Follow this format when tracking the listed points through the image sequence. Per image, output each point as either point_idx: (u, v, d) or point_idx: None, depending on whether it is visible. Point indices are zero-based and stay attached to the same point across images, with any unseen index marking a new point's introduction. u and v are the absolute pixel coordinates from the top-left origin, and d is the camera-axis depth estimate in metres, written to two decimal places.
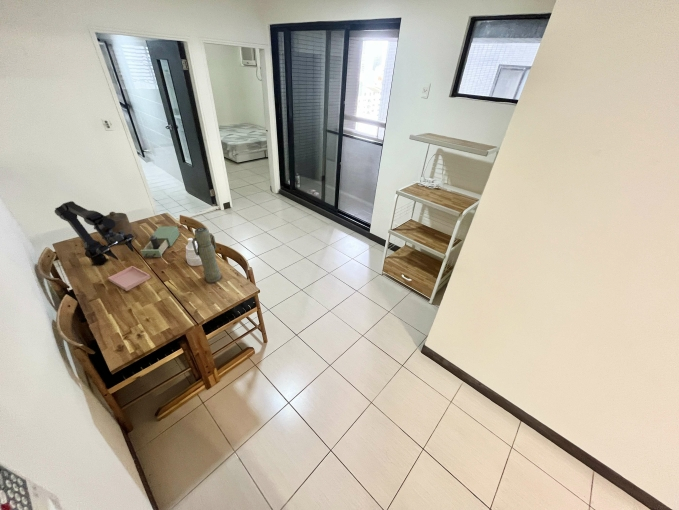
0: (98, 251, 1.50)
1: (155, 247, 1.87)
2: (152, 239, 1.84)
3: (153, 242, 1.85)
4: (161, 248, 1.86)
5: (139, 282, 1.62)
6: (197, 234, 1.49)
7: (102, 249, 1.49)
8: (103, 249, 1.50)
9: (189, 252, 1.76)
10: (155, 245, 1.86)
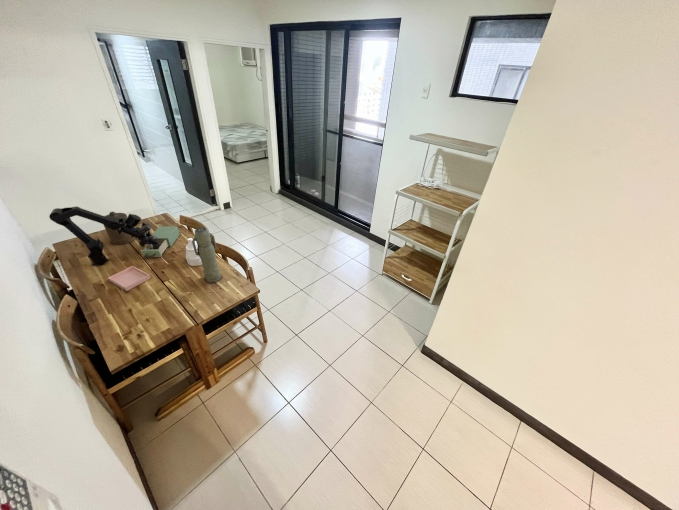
0: (143, 242, 1.75)
1: (155, 247, 1.87)
2: (152, 239, 1.84)
3: None
4: (161, 248, 1.86)
5: (139, 282, 1.62)
6: (197, 234, 1.49)
7: (146, 238, 1.76)
8: (147, 238, 1.76)
9: (189, 252, 1.76)
10: (155, 245, 1.86)
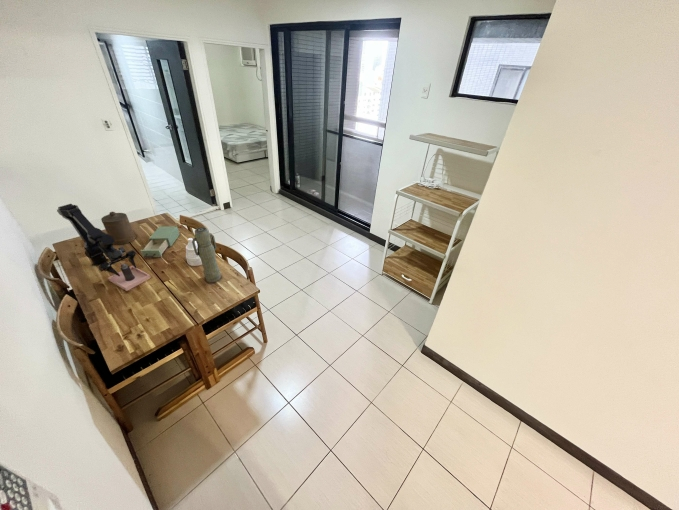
0: (100, 268, 1.53)
1: None
2: (121, 268, 1.59)
3: (122, 271, 1.60)
4: (161, 248, 1.86)
5: (139, 282, 1.62)
6: (197, 234, 1.49)
7: (102, 266, 1.52)
8: (103, 265, 1.52)
9: (189, 252, 1.76)
10: (124, 275, 1.61)
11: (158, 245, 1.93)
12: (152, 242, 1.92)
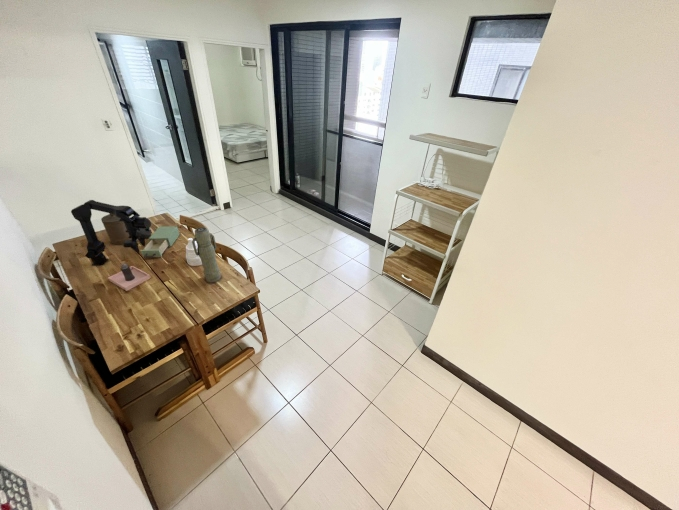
0: (128, 245, 1.59)
1: None
2: (121, 268, 1.59)
3: (122, 271, 1.60)
4: (161, 248, 1.86)
5: (139, 282, 1.62)
6: (197, 234, 1.49)
7: (135, 244, 1.60)
8: (135, 244, 1.61)
9: (189, 252, 1.76)
10: (124, 275, 1.61)
11: (158, 245, 1.93)
12: (152, 242, 1.92)
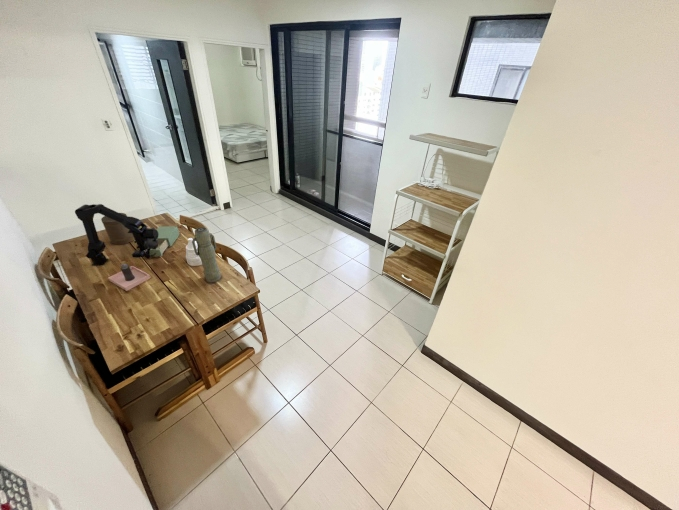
0: (137, 255, 1.67)
1: None
2: (121, 268, 1.59)
3: (122, 271, 1.60)
4: (161, 247, 1.86)
5: (139, 282, 1.62)
6: (197, 234, 1.49)
7: (143, 255, 1.68)
8: (143, 255, 1.68)
9: (189, 252, 1.76)
10: (124, 275, 1.61)
11: (158, 244, 1.94)
12: None
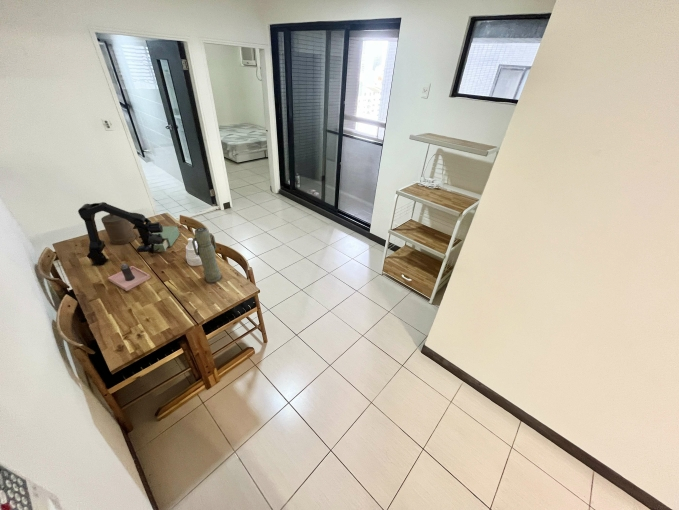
0: (141, 250, 1.72)
1: None
2: (121, 268, 1.59)
3: (122, 271, 1.60)
4: (165, 243, 1.91)
5: (139, 282, 1.62)
6: (197, 234, 1.49)
7: (147, 249, 1.73)
8: (148, 249, 1.73)
9: (189, 252, 1.76)
10: (124, 275, 1.61)
11: (162, 240, 1.99)
12: None
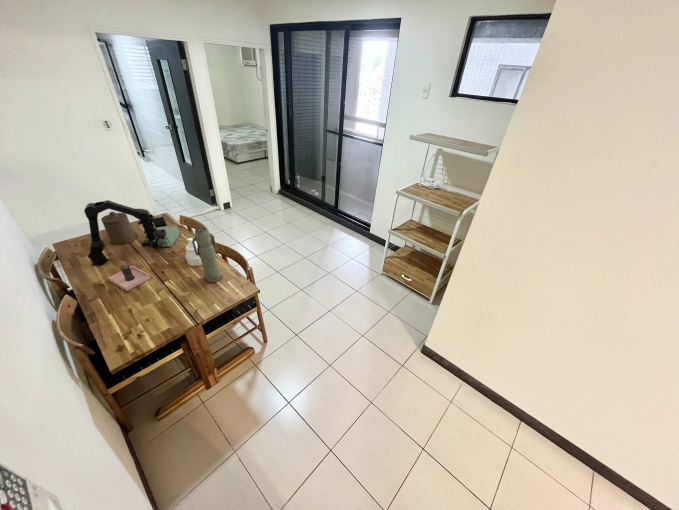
0: (146, 245, 1.77)
1: None
2: (121, 268, 1.59)
3: (122, 271, 1.60)
4: None
5: (139, 282, 1.62)
6: (197, 234, 1.49)
7: (152, 244, 1.78)
8: (152, 244, 1.78)
9: (189, 252, 1.76)
10: (124, 275, 1.61)
11: None
12: None
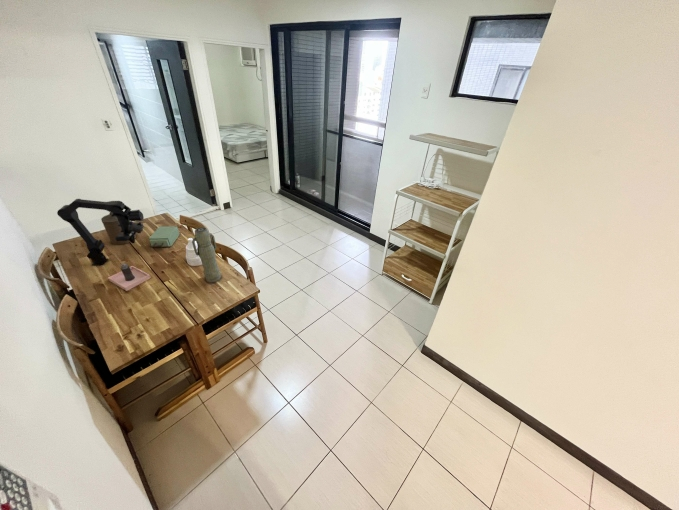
0: (120, 239, 1.64)
1: None
2: (121, 268, 1.59)
3: (122, 271, 1.60)
4: None
5: (139, 282, 1.62)
6: (197, 234, 1.49)
7: (127, 238, 1.65)
8: (127, 238, 1.66)
9: (189, 252, 1.76)
10: (124, 275, 1.61)
11: None
12: None
